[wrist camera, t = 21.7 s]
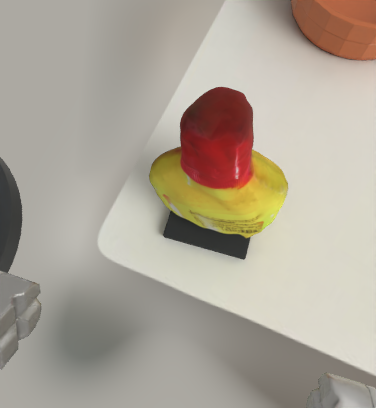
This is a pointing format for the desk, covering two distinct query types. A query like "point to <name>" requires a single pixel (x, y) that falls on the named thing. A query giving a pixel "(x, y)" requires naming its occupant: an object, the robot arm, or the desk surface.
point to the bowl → (339, 26)
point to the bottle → (220, 168)
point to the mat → (205, 237)
